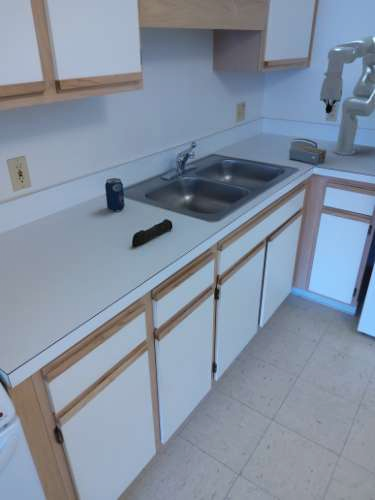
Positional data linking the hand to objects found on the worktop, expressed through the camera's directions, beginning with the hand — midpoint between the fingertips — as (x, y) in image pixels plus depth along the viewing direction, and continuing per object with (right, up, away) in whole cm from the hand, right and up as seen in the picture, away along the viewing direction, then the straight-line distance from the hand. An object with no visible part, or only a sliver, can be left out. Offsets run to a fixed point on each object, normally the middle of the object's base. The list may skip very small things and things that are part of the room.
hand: (328, 112), depth 207 cm
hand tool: (-87, -69, -72) cm, 133 cm away
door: (-11, -23, +10) cm, 28 cm away
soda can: (-104, -57, -49) cm, 128 cm away
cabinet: (-7, -22, +14) cm, 27 cm away
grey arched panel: (-5, -15, +28) cm, 32 cm away
